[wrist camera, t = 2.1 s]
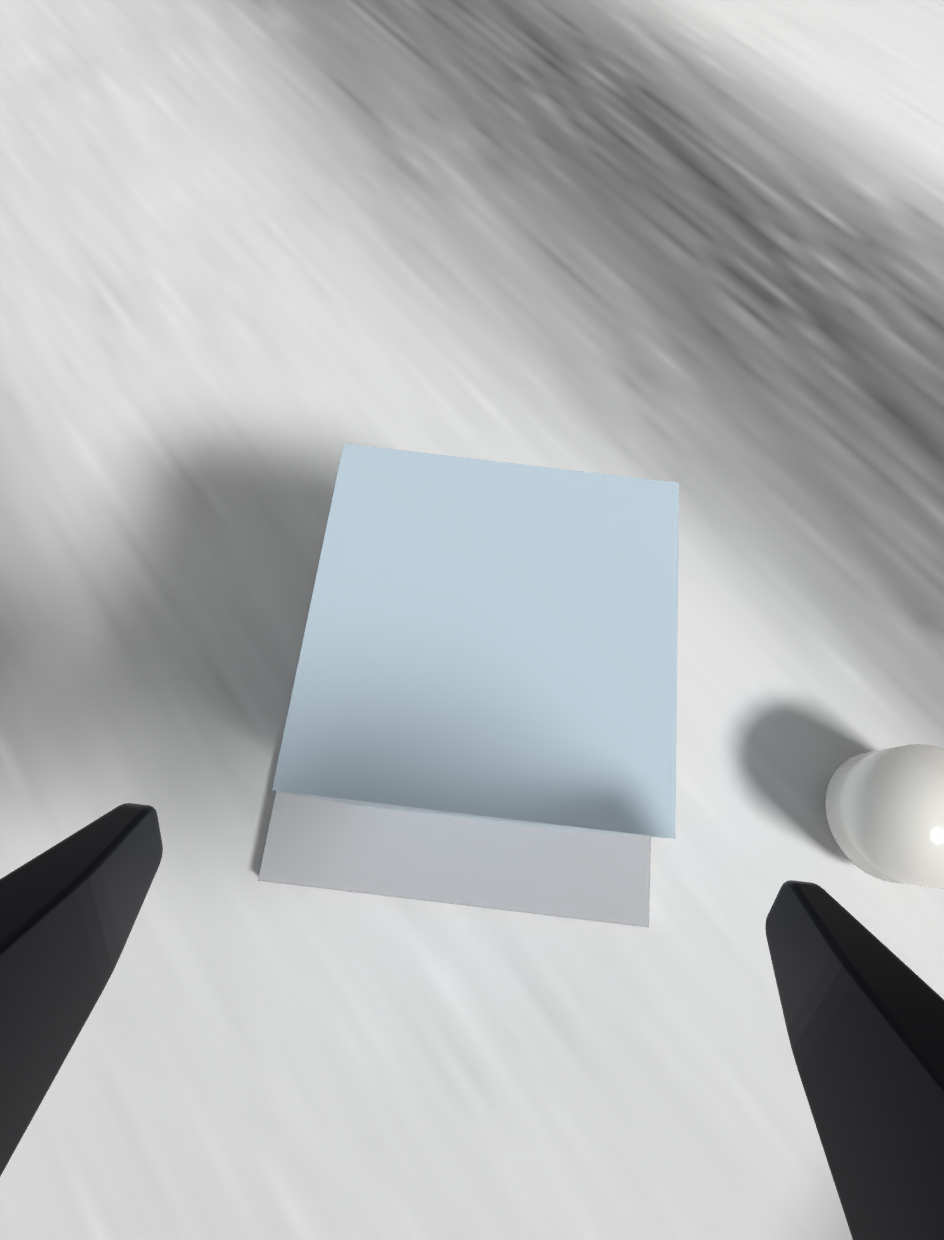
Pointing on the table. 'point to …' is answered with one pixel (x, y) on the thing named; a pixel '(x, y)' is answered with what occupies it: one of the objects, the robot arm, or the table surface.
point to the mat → (458, 861)
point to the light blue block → (491, 646)
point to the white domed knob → (891, 813)
